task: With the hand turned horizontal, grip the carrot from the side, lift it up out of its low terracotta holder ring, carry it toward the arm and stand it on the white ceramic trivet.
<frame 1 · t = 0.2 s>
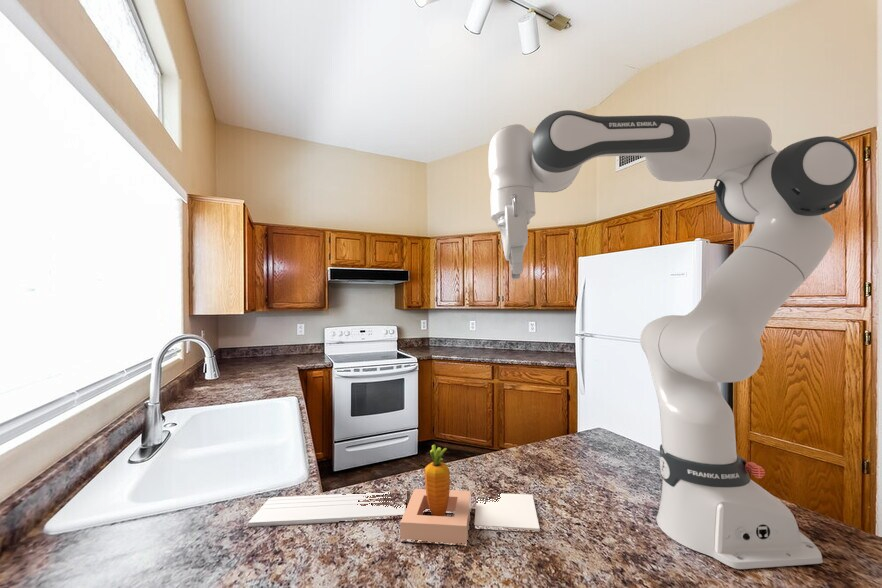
hand: (516, 276, 70), 48 cm above the countertop, tool pointing down, fingers open, 8 cm apart
trivet: (505, 512, 72), on the countertop
holder ring: (438, 524, 68), on the countertop
baseboard molding: (335, 510, 76), on the countertop
carrot: (438, 525, 68), resting in holder ring
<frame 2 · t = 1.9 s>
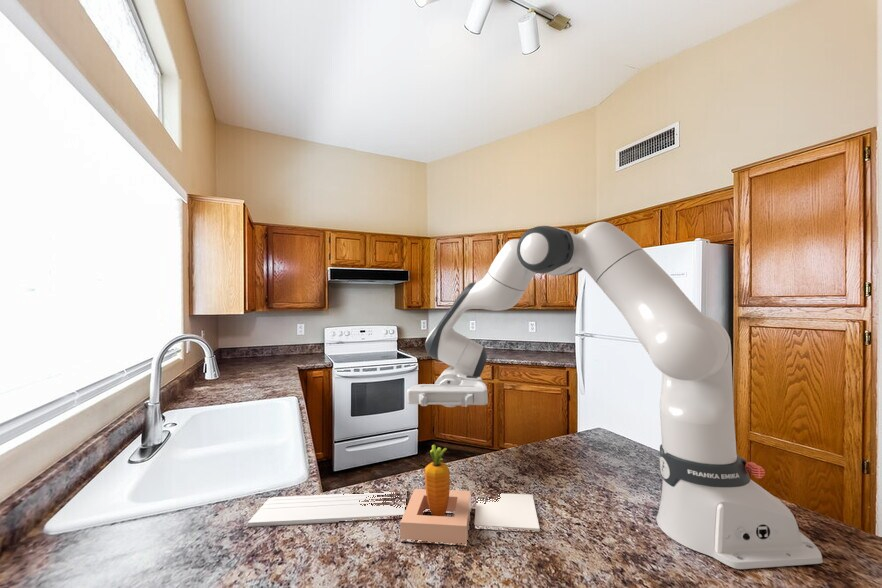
hand: (443, 402, 81), 20 cm above the countertop, tool horizontal, fingers open, 8 cm apart
nothing on the countertop moved.
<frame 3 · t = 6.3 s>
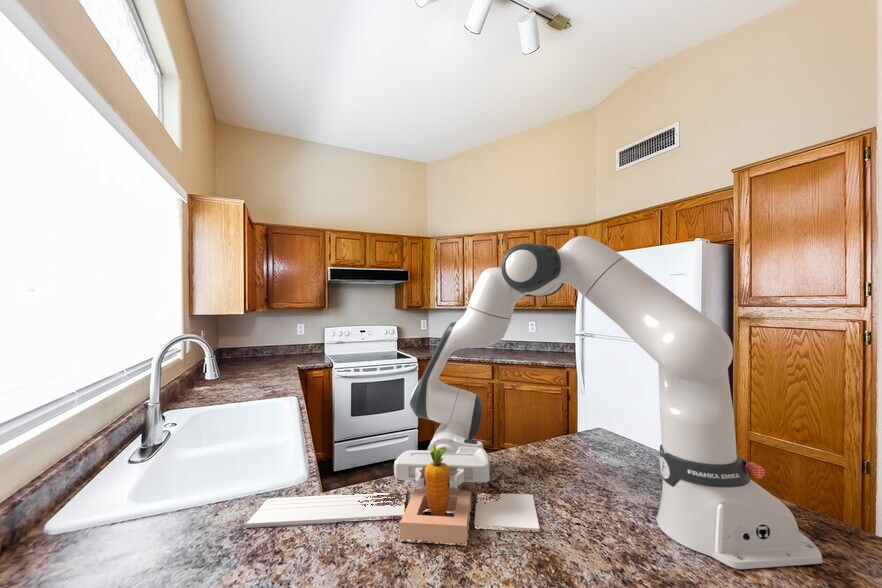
hand: (436, 484, 68), 8 cm above the countertop, tool horizontal, fingers closed on carrot, 5 cm apart
carrot: (438, 525, 68), resting in holder ring, touching gripper
everything else where it was.
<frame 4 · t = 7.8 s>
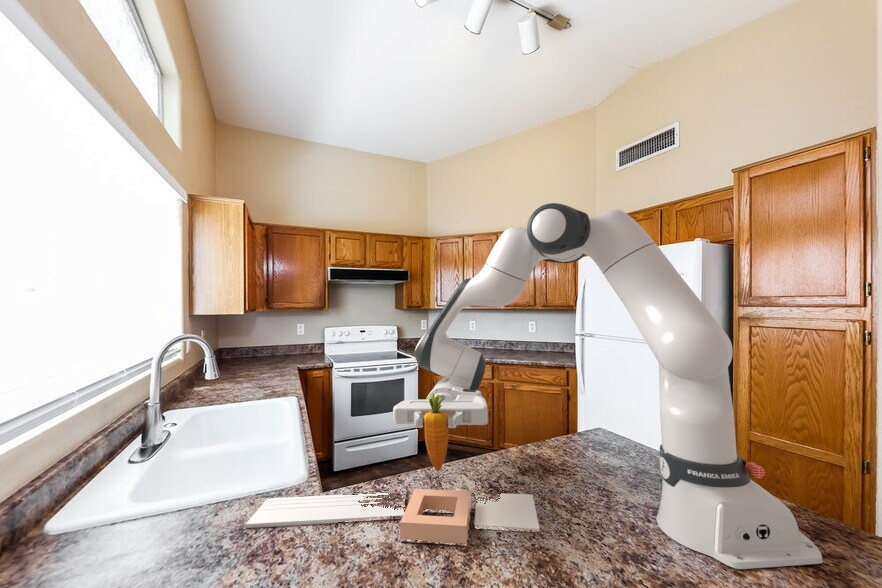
hand: (435, 423, 68), 19 cm above the countertop, tool horizontal, fingers closed on carrot, 5 cm apart
carrot: (437, 471, 69), point 10 cm above the countertop, touching gripper
everything else where it was.
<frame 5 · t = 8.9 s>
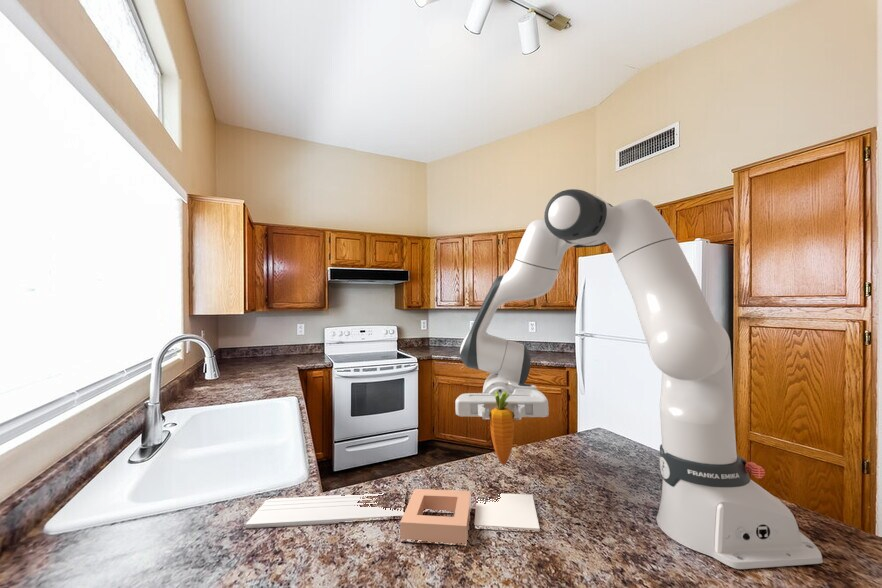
hand: (501, 415, 72), 20 cm above the countertop, tool horizontal, fingers closed on carrot, 5 cm apart
carrot: (503, 465, 72), point 9 cm above the countertop, touching gripper
everything else where it was.
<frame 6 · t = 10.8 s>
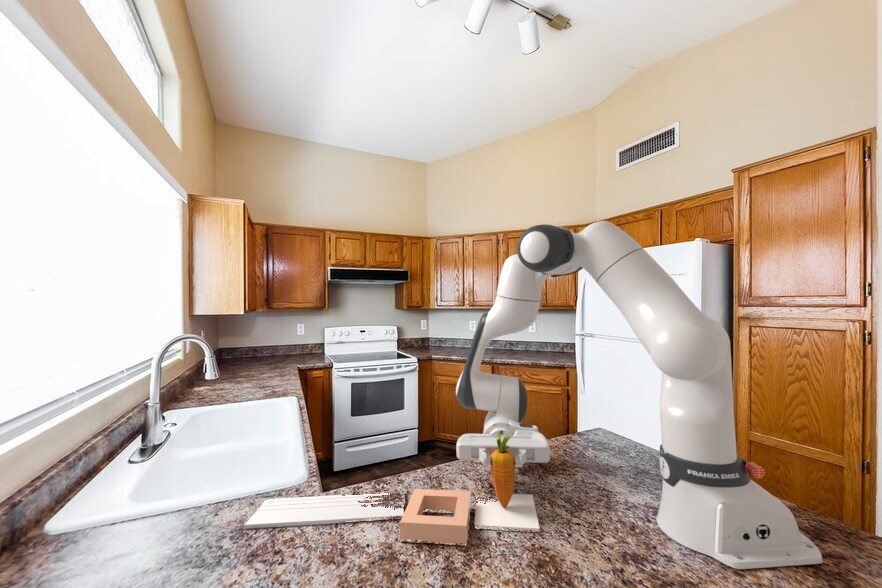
hand: (503, 462, 71), 10 cm above the countertop, tool horizontal, fingers closed on carrot, 5 cm apart
carrot: (504, 509, 72), point 1 cm above the countertop, touching gripper, trivet
everything else where it was.
when the fingers open (10 cm above the countertop, at t = 11.1 s): carrot stays where it is, resting on trivet.
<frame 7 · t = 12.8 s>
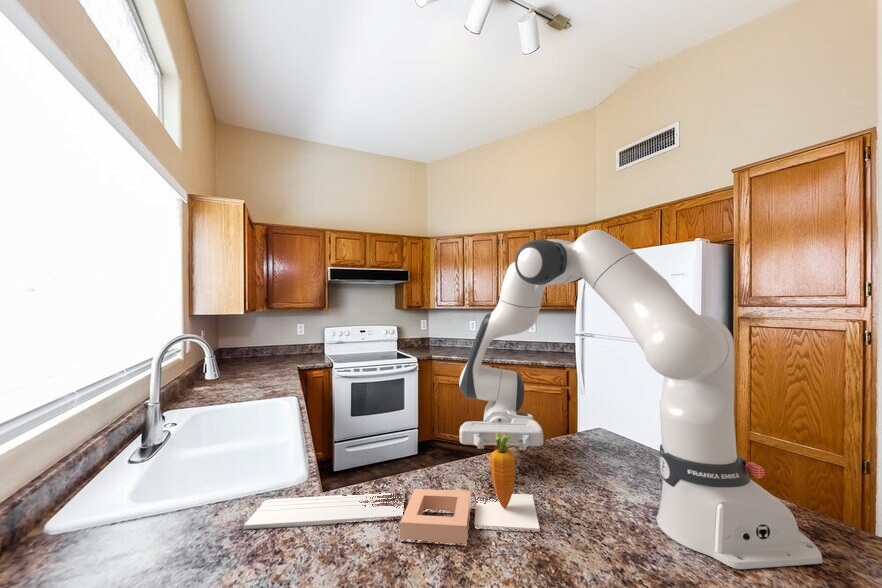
hand: (501, 445, 80), 10 cm above the countertop, tool horizontal, fingers open, 8 cm apart
carrot: (504, 509, 72), point 1 cm above the countertop, touching trivet
everything else where it was.
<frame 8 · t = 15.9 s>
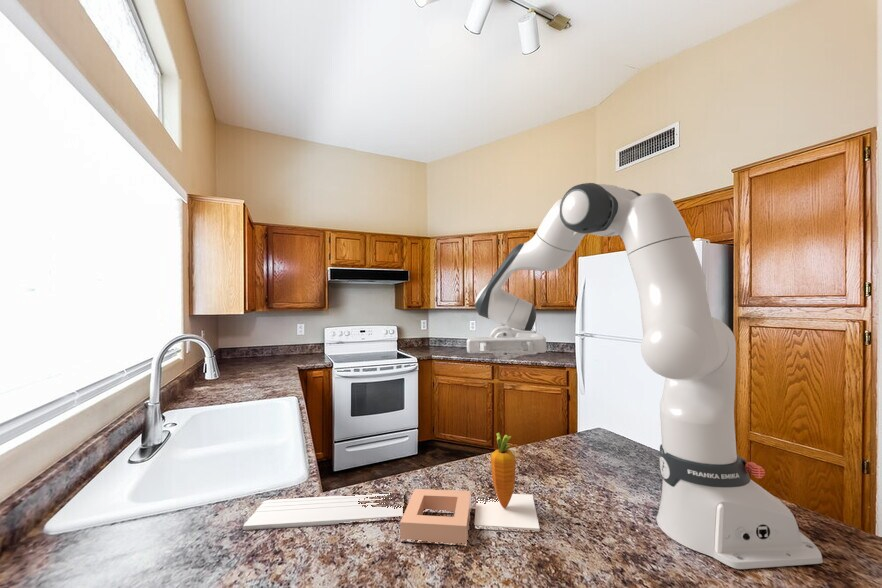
hand: (506, 347, 85), 32 cm above the countertop, tool horizontal, fingers open, 8 cm apart
nothing on the countertop moved.
at the end: carrot 0.3 cm from the trivet (horizontally); carrot tilted 1°; the gripper is holding nothing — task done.
